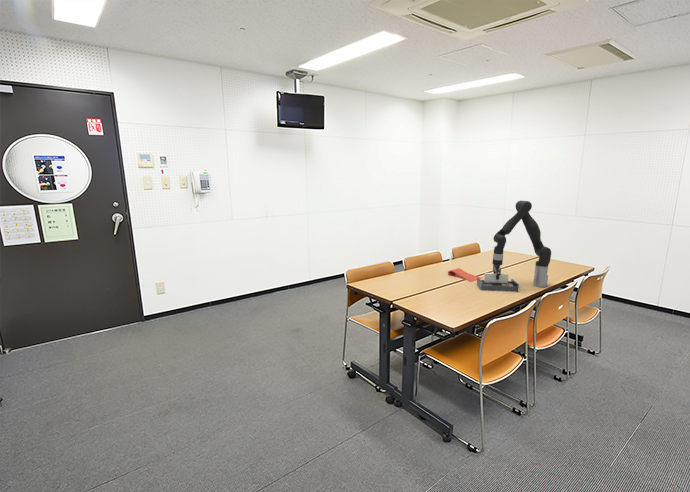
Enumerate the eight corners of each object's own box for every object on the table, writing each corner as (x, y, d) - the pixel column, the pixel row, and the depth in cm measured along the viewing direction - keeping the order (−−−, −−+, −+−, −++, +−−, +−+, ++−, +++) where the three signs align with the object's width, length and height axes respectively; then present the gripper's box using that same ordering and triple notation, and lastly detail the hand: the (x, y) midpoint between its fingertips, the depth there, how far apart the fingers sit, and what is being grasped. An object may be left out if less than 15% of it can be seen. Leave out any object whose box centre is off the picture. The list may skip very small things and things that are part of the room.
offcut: (511, 286, 280) (512, 284, 279) (513, 288, 275) (513, 285, 275) (501, 286, 281) (501, 283, 281) (502, 287, 277) (502, 285, 277)
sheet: (443, 276, 317) (458, 271, 332) (473, 287, 295) (487, 281, 311) (444, 270, 315) (459, 266, 331) (474, 281, 294) (488, 276, 309)
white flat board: (506, 286, 287) (507, 273, 284) (507, 287, 284) (508, 274, 282) (483, 285, 289) (484, 272, 287) (484, 286, 287) (485, 273, 285)
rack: (511, 285, 288) (512, 278, 287) (518, 291, 273) (518, 284, 272) (476, 284, 292) (477, 277, 291) (481, 290, 277) (481, 282, 276)
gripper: (505, 261, 275) (503, 280, 278) (500, 257, 289) (498, 275, 292) (495, 260, 276) (493, 280, 279) (490, 256, 290) (489, 275, 293)
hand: (496, 278), depth 285 cm, fingers open, 8 cm apart
